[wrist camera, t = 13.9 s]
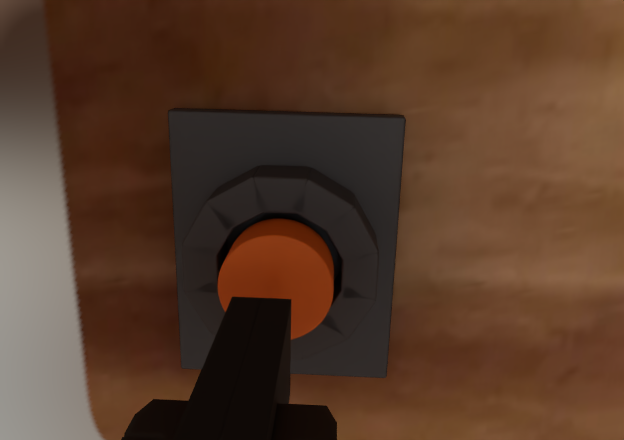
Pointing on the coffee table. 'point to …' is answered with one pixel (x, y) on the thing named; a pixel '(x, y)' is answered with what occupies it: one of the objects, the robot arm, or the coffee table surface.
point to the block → (295, 206)
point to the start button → (281, 270)
